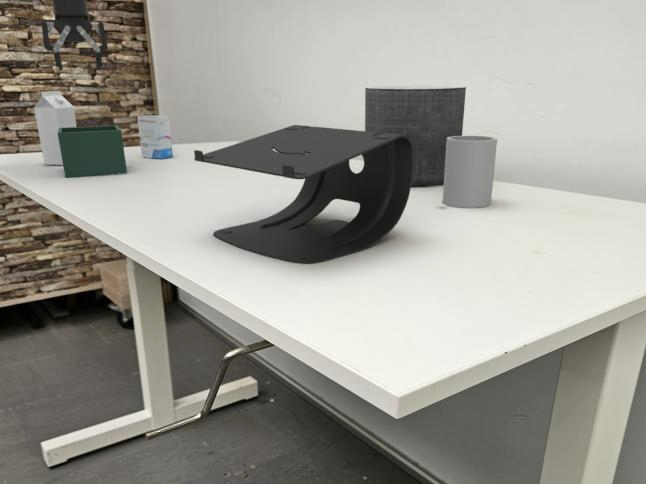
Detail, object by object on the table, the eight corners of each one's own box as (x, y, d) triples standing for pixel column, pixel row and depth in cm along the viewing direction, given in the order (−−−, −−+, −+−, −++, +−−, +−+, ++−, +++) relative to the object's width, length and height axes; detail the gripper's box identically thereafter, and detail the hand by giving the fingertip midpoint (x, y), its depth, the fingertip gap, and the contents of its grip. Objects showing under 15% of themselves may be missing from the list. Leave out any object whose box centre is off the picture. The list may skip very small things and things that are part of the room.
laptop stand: (415, 236, 95) (420, 133, 88) (301, 270, 80) (299, 148, 74) (306, 211, 112) (304, 123, 106) (196, 234, 97) (187, 134, 91)
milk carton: (44, 165, 168) (30, 91, 160) (62, 161, 174) (49, 90, 166) (65, 166, 166) (52, 92, 158) (82, 162, 172) (70, 90, 164)
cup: (447, 207, 113) (451, 141, 108) (439, 198, 121) (443, 135, 117) (495, 207, 113) (502, 140, 108) (484, 197, 121) (490, 135, 117)
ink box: (174, 157, 180) (169, 115, 175) (162, 159, 176) (157, 116, 171) (153, 155, 184) (148, 114, 179) (141, 157, 180) (135, 115, 175)
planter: (416, 168, 156) (420, 84, 148) (479, 180, 139) (487, 86, 131) (345, 176, 145) (346, 87, 137) (404, 191, 128) (408, 89, 120)
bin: (65, 177, 148) (57, 133, 144) (66, 169, 161) (58, 127, 157) (127, 173, 153) (121, 130, 149) (123, 165, 166) (117, 125, 161)
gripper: (100, -3, 146) (110, 69, 153) (36, -5, 142) (49, 70, 148) (101, -7, 140) (111, 69, 146) (33, -9, 135) (47, 70, 142)
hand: (79, 69), depth 147 cm, fingers open, 8 cm apart
